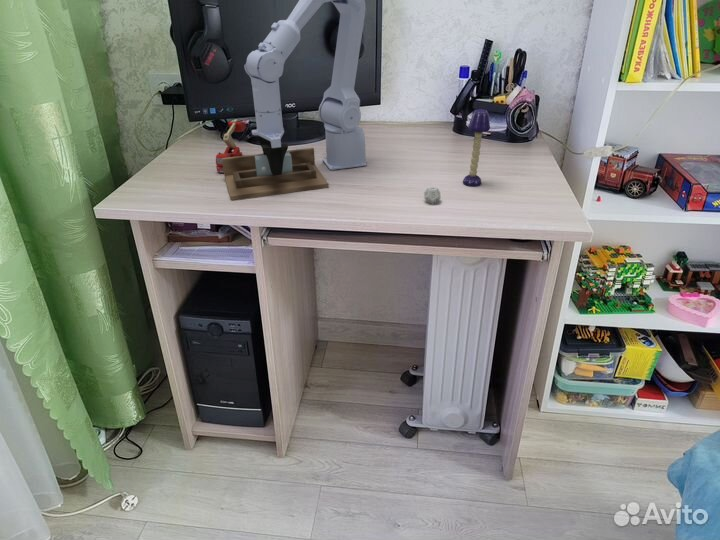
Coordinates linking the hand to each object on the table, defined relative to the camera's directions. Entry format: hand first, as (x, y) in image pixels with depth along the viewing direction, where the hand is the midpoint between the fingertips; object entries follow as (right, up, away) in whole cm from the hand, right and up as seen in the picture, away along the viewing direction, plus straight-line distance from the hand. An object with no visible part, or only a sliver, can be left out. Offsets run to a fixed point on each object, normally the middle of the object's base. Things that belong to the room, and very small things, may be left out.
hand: (274, 168), depth 126 cm
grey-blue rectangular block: (0, -2, +1) cm, 2 cm away
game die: (+35, -9, -9) cm, 37 cm away
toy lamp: (+46, -4, 0) cm, 46 cm away
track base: (0, -3, +2) cm, 3 cm away
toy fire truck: (-12, +3, +13) cm, 18 cm away
